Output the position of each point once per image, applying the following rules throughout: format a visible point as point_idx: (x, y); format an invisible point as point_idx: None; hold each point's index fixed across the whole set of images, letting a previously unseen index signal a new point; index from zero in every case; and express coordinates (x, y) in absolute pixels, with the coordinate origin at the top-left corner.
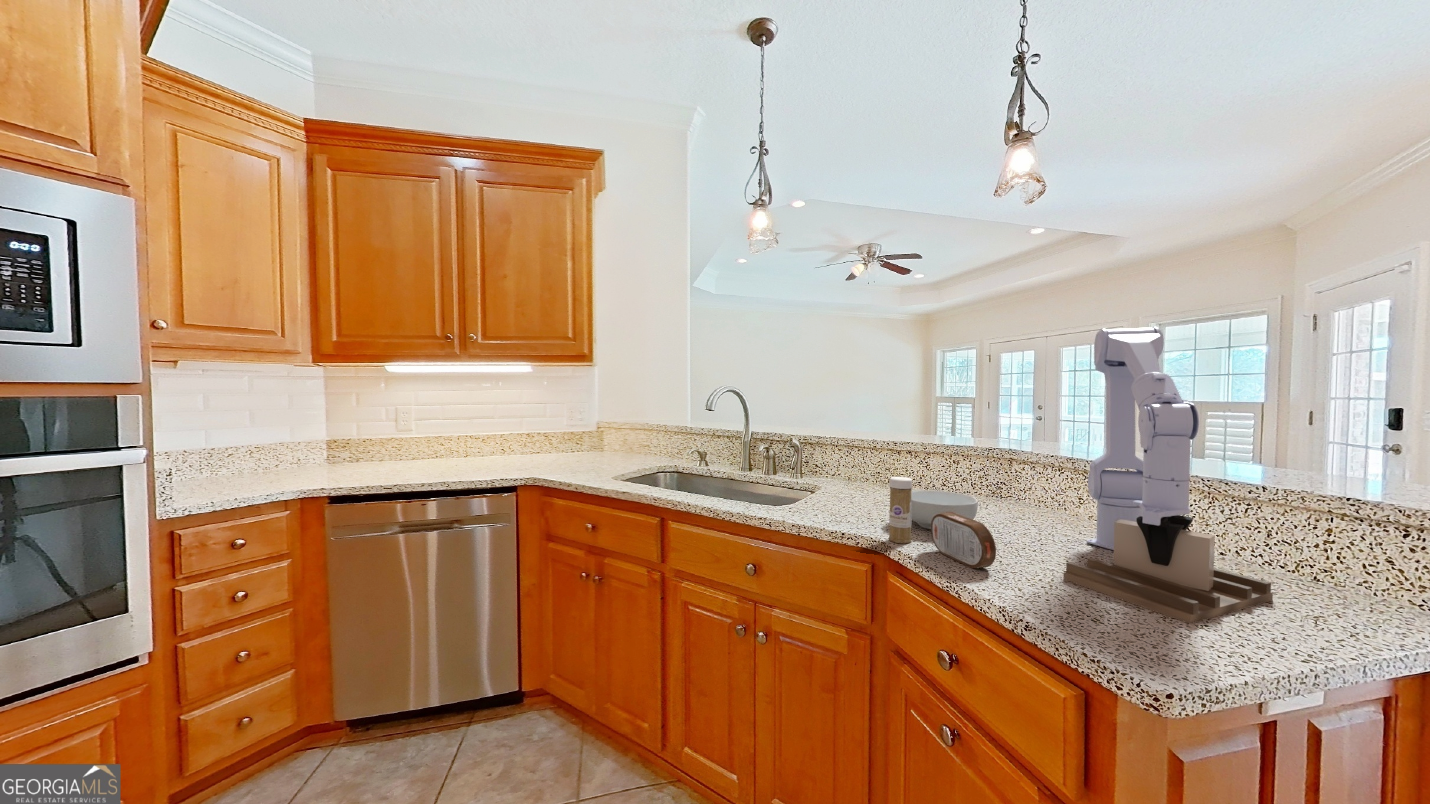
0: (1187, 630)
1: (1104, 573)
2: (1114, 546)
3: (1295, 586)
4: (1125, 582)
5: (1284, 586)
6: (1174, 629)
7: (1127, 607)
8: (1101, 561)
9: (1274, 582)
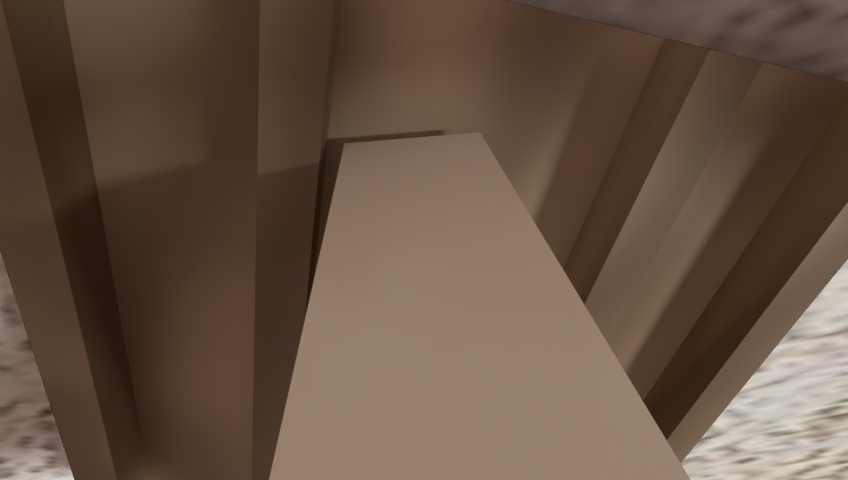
0: (46, 462)
1: (23, 219)
2: (327, 234)
3: (810, 465)
4: (31, 337)
5: (791, 455)
6: (3, 447)
7: (8, 313)
8: (305, 76)
9: (826, 436)
